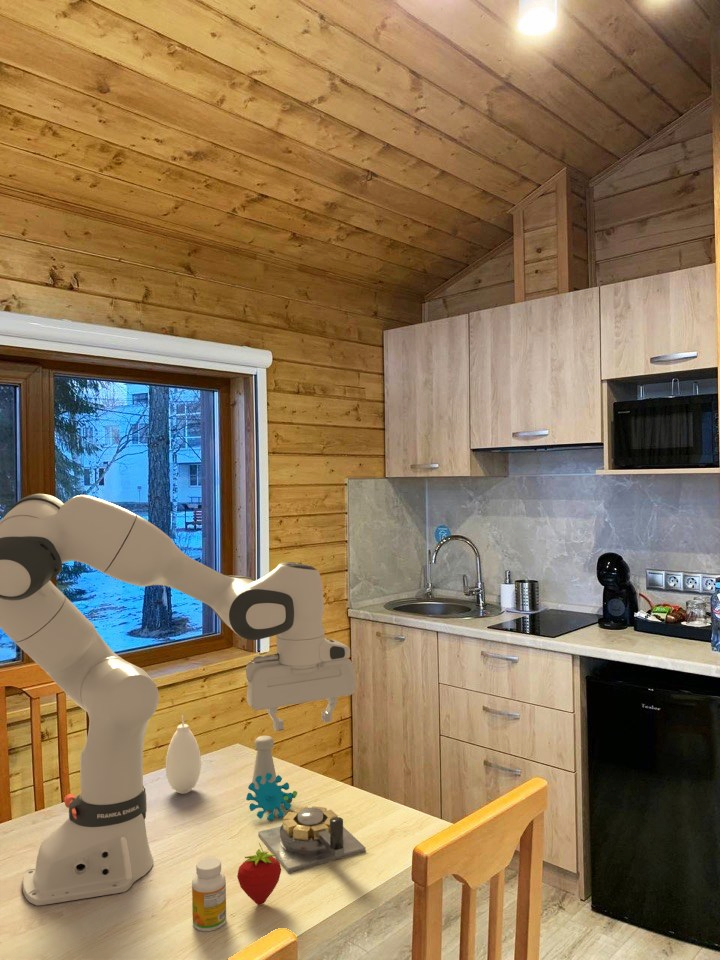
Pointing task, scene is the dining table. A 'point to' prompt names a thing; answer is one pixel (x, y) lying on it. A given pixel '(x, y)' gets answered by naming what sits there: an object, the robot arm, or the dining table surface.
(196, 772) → the white air blower bulb
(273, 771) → the salt shaker
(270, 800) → the teal virus model
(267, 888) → the strawberry
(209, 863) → the supplement bottle
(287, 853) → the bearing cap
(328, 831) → the ring nut
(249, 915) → the dining table surface
